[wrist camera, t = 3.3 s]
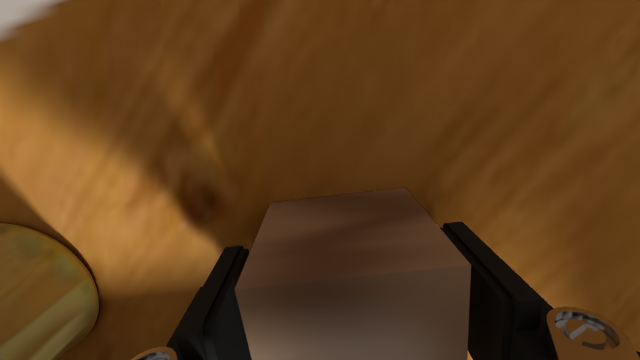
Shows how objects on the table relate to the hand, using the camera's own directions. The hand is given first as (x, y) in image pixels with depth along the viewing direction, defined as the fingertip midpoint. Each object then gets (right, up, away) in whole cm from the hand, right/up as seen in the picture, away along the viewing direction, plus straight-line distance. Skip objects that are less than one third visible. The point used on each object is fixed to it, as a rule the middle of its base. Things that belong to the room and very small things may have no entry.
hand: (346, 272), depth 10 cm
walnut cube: (0, 0, +1) cm, 1 cm away
